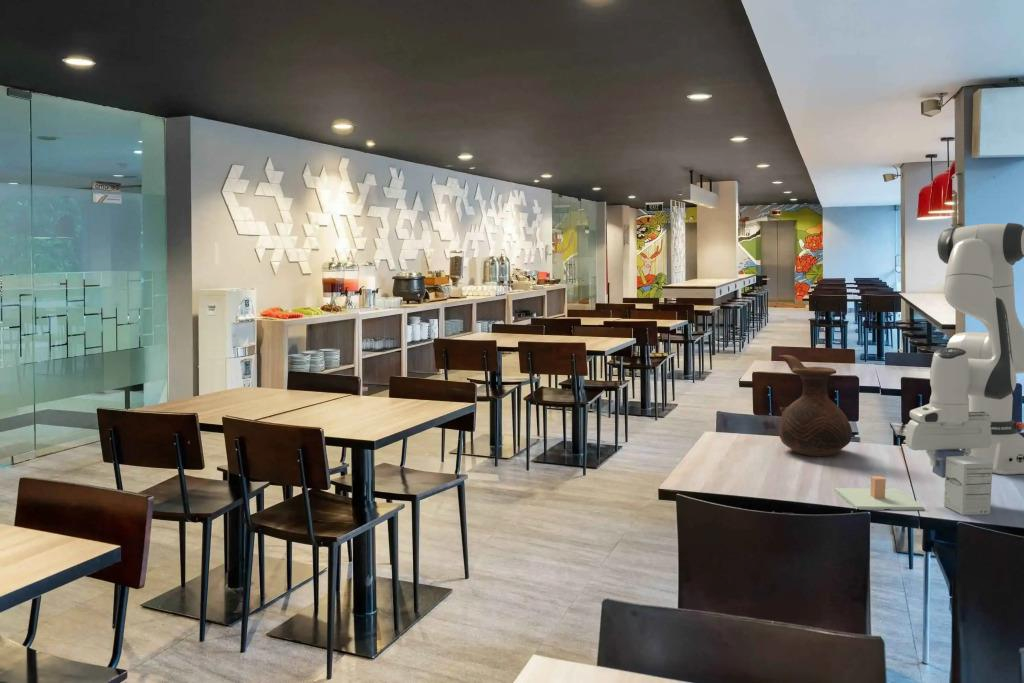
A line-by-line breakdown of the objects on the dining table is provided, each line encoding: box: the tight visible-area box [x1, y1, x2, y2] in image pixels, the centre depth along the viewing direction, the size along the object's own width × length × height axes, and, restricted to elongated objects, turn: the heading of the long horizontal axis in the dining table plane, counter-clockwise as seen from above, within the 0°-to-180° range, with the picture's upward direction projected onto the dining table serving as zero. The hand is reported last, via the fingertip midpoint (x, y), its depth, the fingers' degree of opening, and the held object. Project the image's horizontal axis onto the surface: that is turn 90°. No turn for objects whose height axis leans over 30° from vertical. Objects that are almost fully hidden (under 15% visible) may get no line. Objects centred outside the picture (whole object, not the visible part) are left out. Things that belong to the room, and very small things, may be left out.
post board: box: [834, 475, 925, 511], centre depth 205 cm, size 16×16×6 cm
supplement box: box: [943, 456, 993, 516], centre depth 196 cm, size 7×7×13 cm
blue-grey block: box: [932, 449, 964, 479], centre depth 208 cm, size 5×5×7 cm
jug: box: [777, 354, 853, 457], centre depth 256 cm, size 22×22×30 cm
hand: (947, 465), depth 208 cm, fingers closed on blue-grey block, 5 cm apart
